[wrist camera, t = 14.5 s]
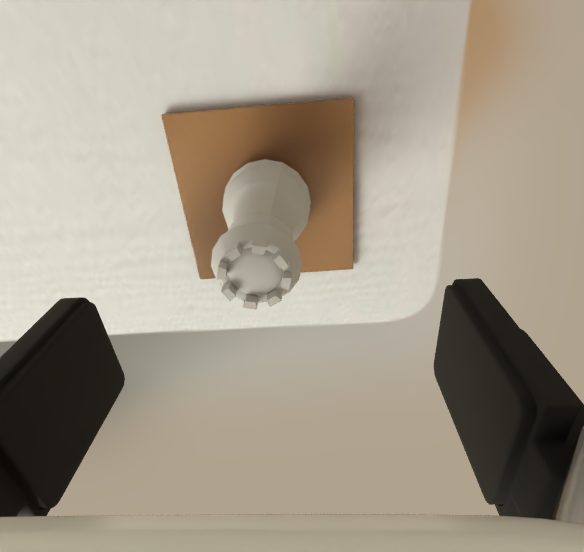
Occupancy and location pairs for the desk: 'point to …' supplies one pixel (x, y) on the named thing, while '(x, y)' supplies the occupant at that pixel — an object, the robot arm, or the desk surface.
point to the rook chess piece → (261, 233)
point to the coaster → (277, 147)
